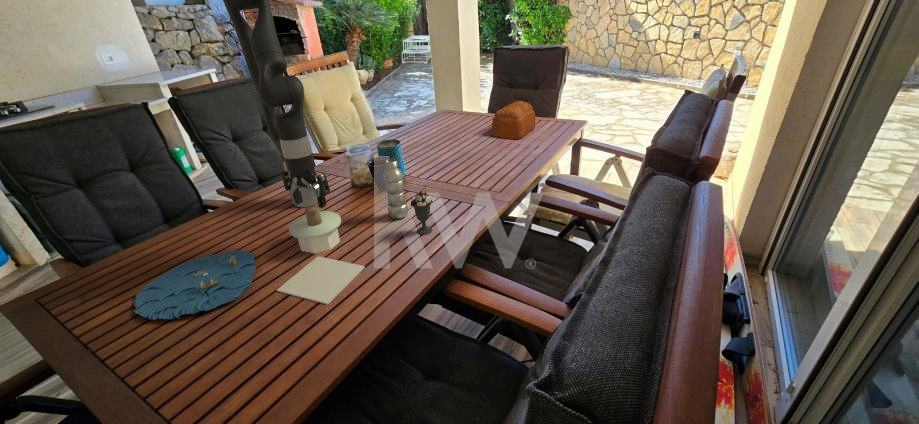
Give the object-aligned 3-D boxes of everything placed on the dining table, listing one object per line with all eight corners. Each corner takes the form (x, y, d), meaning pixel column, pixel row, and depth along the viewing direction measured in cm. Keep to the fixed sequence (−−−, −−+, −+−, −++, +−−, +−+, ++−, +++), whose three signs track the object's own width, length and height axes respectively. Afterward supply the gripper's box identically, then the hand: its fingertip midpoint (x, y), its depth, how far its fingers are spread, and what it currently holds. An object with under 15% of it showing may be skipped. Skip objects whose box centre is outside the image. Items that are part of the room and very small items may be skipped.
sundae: (438, 226, 127) (434, 183, 120) (430, 237, 122) (425, 192, 115) (419, 224, 129) (414, 181, 122) (410, 234, 124) (405, 190, 117)
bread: (537, 127, 219) (538, 100, 212) (520, 140, 201) (521, 111, 194) (508, 124, 227) (508, 98, 220) (490, 137, 209) (489, 108, 202)
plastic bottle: (405, 221, 131) (397, 164, 122) (386, 220, 133) (377, 164, 123) (411, 212, 137) (404, 157, 128) (392, 211, 138) (384, 157, 129)
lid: (278, 234, 116) (273, 217, 114) (312, 211, 128) (308, 196, 126) (319, 242, 111) (315, 225, 108) (351, 217, 123) (348, 201, 120)
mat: (277, 291, 102) (276, 290, 102) (318, 257, 115) (317, 256, 115) (327, 304, 96) (327, 303, 96) (364, 267, 109) (364, 266, 109)
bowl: (292, 249, 120) (287, 232, 117) (317, 230, 129) (313, 214, 126) (323, 255, 116) (318, 238, 113) (346, 236, 125) (343, 219, 122)
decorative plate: (173, 344, 88) (163, 326, 85) (116, 301, 102) (106, 285, 100) (286, 273, 109) (281, 257, 107) (226, 246, 124) (220, 231, 122)
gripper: (267, 155, 108) (283, 207, 116) (309, 159, 103) (322, 214, 111) (287, 146, 114) (300, 196, 122) (327, 150, 109) (339, 202, 117)
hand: (311, 205), depth 116 cm, fingers open, 8 cm apart
